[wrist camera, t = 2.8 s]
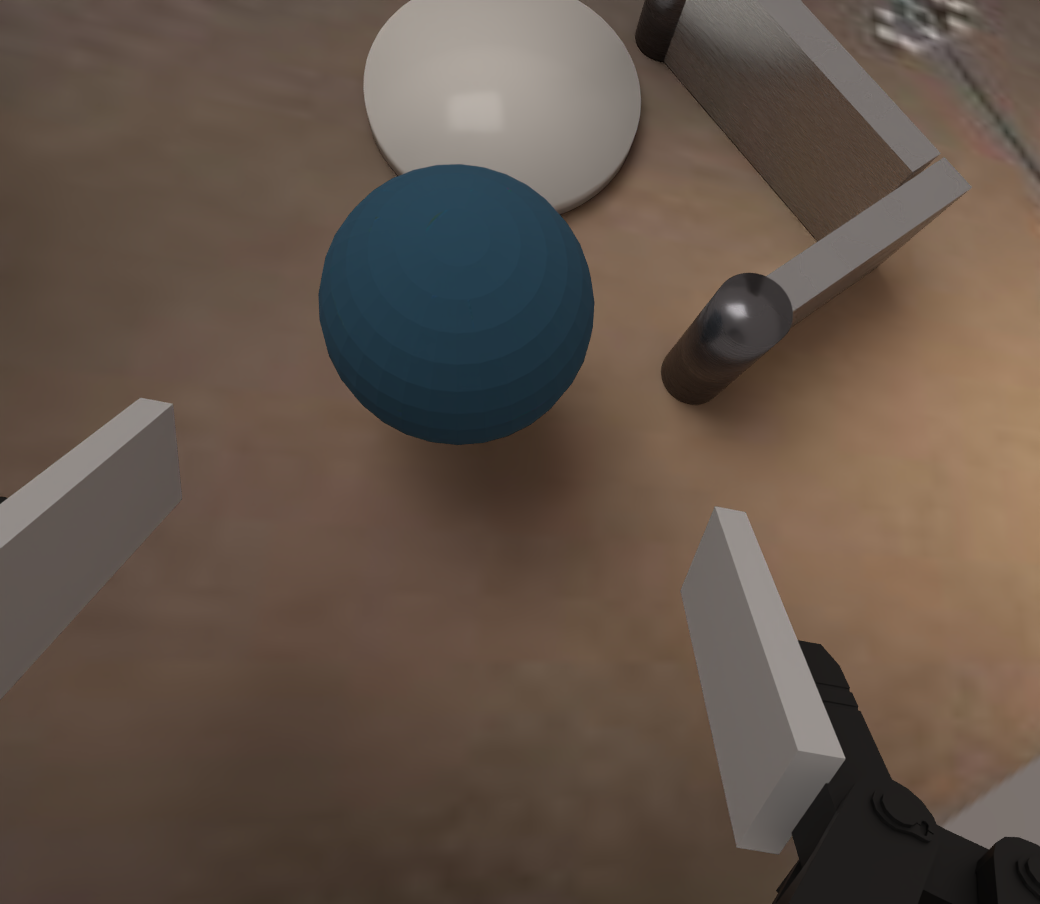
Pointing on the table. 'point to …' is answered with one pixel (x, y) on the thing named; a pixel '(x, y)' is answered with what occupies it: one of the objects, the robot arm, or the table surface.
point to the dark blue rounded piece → (456, 304)
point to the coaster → (505, 93)
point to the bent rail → (793, 167)
